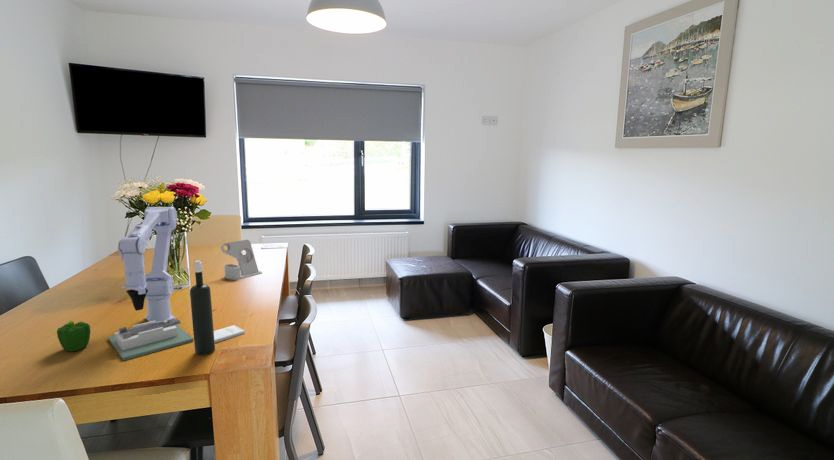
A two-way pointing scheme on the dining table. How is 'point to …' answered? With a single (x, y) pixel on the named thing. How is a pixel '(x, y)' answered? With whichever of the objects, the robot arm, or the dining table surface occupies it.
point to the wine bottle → (202, 314)
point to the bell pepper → (74, 335)
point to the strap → (152, 326)
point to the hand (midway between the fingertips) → (139, 309)
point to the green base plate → (148, 340)
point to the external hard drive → (227, 333)
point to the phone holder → (240, 260)
